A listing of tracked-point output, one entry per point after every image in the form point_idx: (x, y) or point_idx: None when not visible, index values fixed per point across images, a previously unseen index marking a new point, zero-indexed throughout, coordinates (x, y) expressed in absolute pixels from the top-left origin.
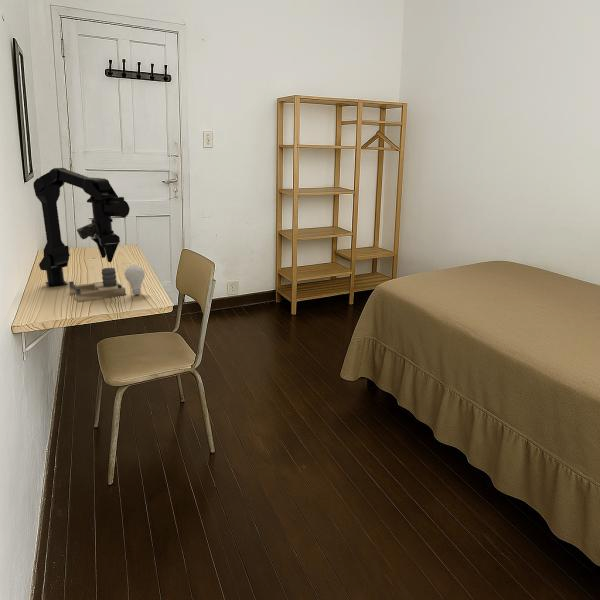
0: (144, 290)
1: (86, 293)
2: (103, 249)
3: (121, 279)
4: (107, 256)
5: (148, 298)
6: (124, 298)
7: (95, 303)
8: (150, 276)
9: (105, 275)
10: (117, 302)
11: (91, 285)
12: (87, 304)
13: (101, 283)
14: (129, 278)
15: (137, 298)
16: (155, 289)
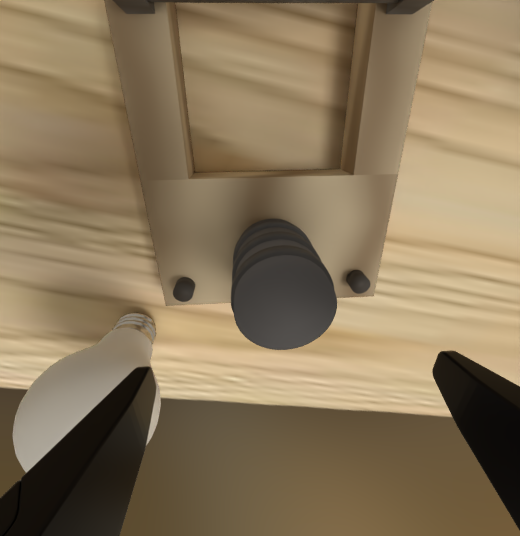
0: (212, 359)
1: (122, 64)
2: (518, 468)
3: (463, 324)
4: (73, 435)
5: (69, 347)
6: (104, 268)
7: (42, 106)
8: (416, 411)
9: (246, 261)
10: (32, 224)
11: (354, 156)
12: (29, 48)
13: (348, 220)
14: (49, 367)
15: (84, 313)
16: (207, 390)
